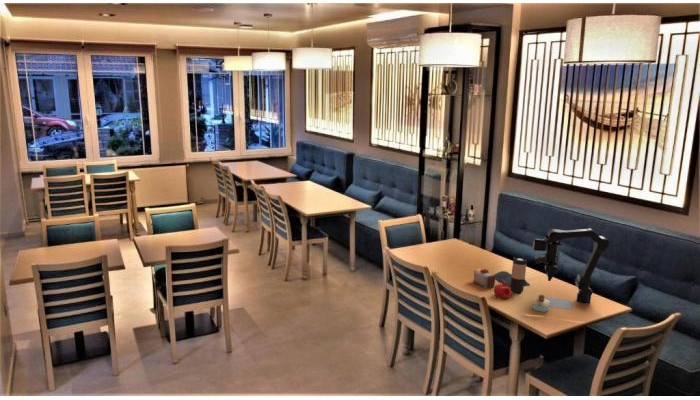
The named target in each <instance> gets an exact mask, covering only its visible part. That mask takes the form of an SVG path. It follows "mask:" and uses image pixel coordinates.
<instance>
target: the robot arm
mask: <svg viewBox="0 0 700 400" xmlns="http://www.w3.org/2000/svg"><path fill="white" fill-rule="evenodd" d="M547 231H548V232H547V234H546V235H545V236H544V237H543V238H536V237H535V238H533V239H534V240H533V241H532V251H535V252H536V251H537V252H544V251H545V254H538V255H535V256H534V259H535V263H536V265H537V264H541V263H543V264H544V270H545V272H546V275H547V281H548V282H551V281H552V280H553V278H554V276H555V275H556V274H557V272H558V270H559V269H558V266H557V258H558V250H559V246H560V247H562V246H563V244H562V241H564V240H565V239H574V238H575V239H576V238H590V239H591V240H592V241H593V246H592V247H593V249H592V252H591V255H590V256H589V259H588V260H587V263H586V265H585V267H584V270H583V272H582V273H581V274H578V273H577V275H576V278H575V279H574V281H575V285H576V287H577V289H578V292H577V293H576V299H575V301H576V302H579V303H581V304H591V300H592V295H593V293H594V291H593V290H592V288H591V287H590V286H591V278H592V275H593V273H594V271H595V269H596V266H597V264H598V262H599V260H600V258H601V256H602V255H603V254H604V253H605V252H606V251H607V249H608V248H609V246H610V242H609V240H608V239H607V238H606V236H604V235H599V234H598V233H596V231H594V230H593V229H592V228H590V227H588V228H581V229H569V230H568V229H567V230H564V229H557V228H551V229H549V230H547Z"/></svg>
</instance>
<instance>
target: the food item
mask: <svg viewBox="0 0 700 400" xmlns="http://www.w3.org/2000/svg"><path fill="white" fill-rule="evenodd" d="M473 283H475V284H478V285H480V286H481V287H483V288H485V289H486V290H489V289H494V287H495V286H496V285H495V284H496V280H495V276H494V274H492V273H491V272H490V271H489V269H486V268H484V269H482V268H477V269H474V271H473Z"/></svg>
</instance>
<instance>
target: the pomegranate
mask: <svg viewBox="0 0 700 400" xmlns="http://www.w3.org/2000/svg"><path fill="white" fill-rule="evenodd" d="M505 284H506V283H505V281H503V284H502V283H501V282H498V283H497V284H496V285H495V286H494V288H493V293H494V295H495V297H497V298H499V299H503V300H504V299H505V300H506V299H509V298H510V297H511V296H512V294H513V292H512V291H511V288H510V287H509V285H505Z"/></svg>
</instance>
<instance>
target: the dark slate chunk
mask: <svg viewBox="0 0 700 400" xmlns="http://www.w3.org/2000/svg"><path fill="white" fill-rule="evenodd" d="M493 275H494V276H495V281H497V282H498V283H499V282H501V283H502V284H503V281H505V283H506V284H505V285H509V287H510V289H511V275H512V273H511V272H508V271H504V270H501V271H498V272H496V273H494V274H493ZM501 283H500V284H501ZM528 286H530V283H529V282H528V281H526V279H525V281H524V287H528Z"/></svg>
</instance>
